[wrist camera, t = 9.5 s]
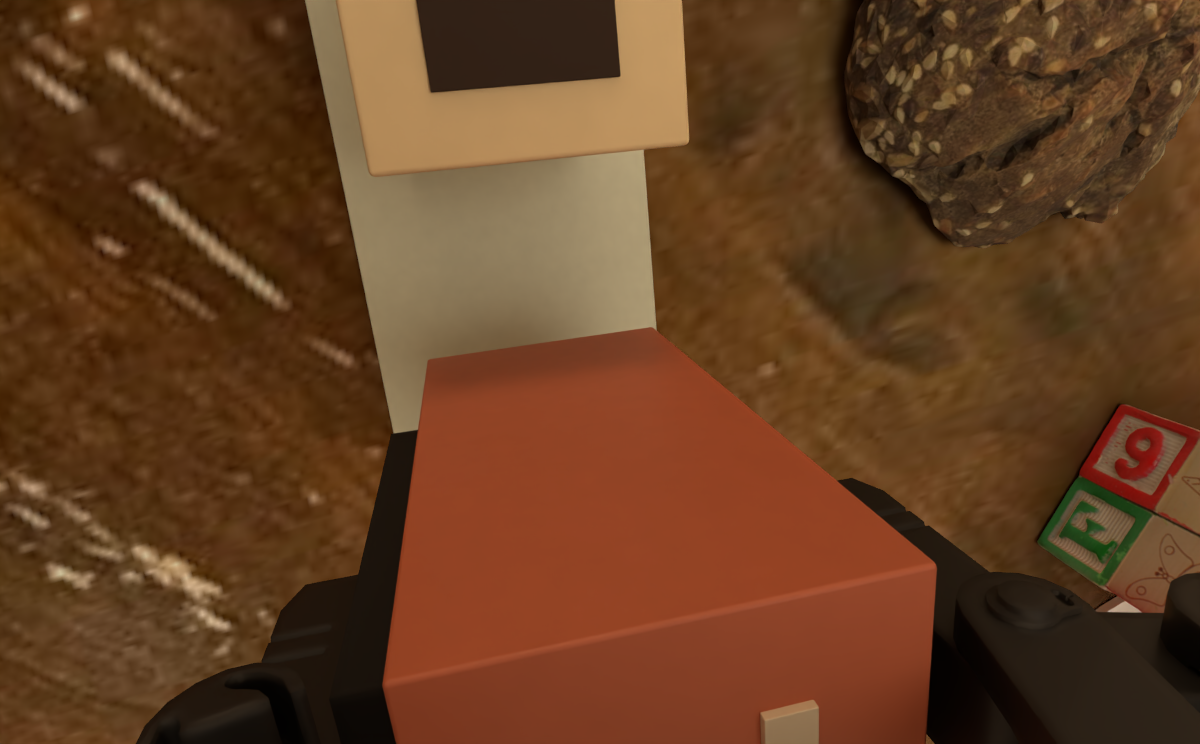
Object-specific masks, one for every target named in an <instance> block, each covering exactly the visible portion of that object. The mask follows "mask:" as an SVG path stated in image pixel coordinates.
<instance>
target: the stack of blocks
mask: <svg viewBox="0 0 1200 744" xmlns="http://www.w3.org/2000/svg"><path fill="white" fill-rule="evenodd" d="M1037 543H1038V544H1039V545H1040V546H1041V547H1042V548H1044V549H1045V550H1046V551H1048V552H1049V553H1051V554H1052V555H1054V556H1055V557H1056V558H1058V559H1059V560H1061V561H1062V562H1064V563H1065V564H1066V565H1068V566H1069V567H1071V568H1072V569H1074V570H1075V571H1077V572H1078V573H1080V574H1081V575H1083V576H1084V577H1085V578H1087V579H1088V580H1090V581H1091V582H1093V583H1094V584H1095V585H1097V586H1098V587H1100V588H1102V589H1103V590H1105V591H1108V592H1111V593H1114V594H1115V595H1117V596H1118V597H1120V598H1121V599H1123V600H1124V601H1126V602H1127V603H1129V604H1130V605H1132V606H1134V607H1135V608H1137V609H1138V610H1139V611H1141V612H1142V613H1164V609H1165V603H1166V598H1167V593H1168V589H1169V586H1170V583H1171V581H1172V580H1174V579H1176V578H1178V577H1180V576H1182V575H1184V574H1189V573H1200V430H1197V429H1194V428H1192V427H1189V426H1186V425H1183V424H1180V423H1177V422H1174V421H1171V420H1168V419H1165V418H1162V417H1159V416H1157V415H1154V414H1151V413H1149V412H1146V411H1143V410H1140V409H1138V408H1135V407H1132V406H1130V405H1125V404H1122V405H1120V406H1119V407H1118V409H1117V410H1116V412H1115V414H1114V416H1113V417H1112V419H1111V420H1110V422H1109V424H1108V425H1107V427H1106V428H1105V430H1104V431H1103V433H1102V435H1101V437H1100V438H1099V440H1098V441H1097V443H1096V445H1095V446H1094V448H1093V450H1092V452H1091V453H1090V455H1089V456H1088V458H1087V460H1086V461H1085V463H1084V464H1083V466H1082V467H1081V469H1080V472H1079V477H1078V478H1077V479H1076V480H1075V481H1074V483H1073V484H1072V486H1071V487H1070V489H1069V490H1068V492H1067V494H1066V495H1065V497H1064V499H1063V500H1062V502H1061V504H1060V505H1059V507H1058V508H1057V510H1056V512H1055V513H1054V515H1053V517H1052V518H1051V520H1050V521H1049V523H1048V525H1047V526H1046V528H1045V529H1044V531H1043V533H1042V534H1041V536H1040V538H1039V539H1038V541H1037Z"/></svg>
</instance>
